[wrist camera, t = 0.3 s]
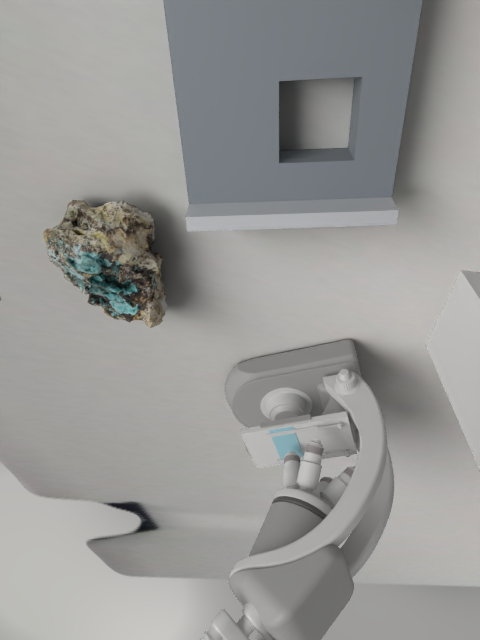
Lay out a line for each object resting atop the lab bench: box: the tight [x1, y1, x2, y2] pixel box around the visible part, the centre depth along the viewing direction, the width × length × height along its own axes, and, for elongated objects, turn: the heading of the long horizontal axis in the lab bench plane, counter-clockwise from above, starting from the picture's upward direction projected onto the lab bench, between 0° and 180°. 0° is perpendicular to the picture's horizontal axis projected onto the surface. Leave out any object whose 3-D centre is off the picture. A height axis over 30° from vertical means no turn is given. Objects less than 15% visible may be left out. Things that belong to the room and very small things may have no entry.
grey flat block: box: [163, 0, 423, 232], centre depth 30 cm, size 24×16×5 cm, turn 3°
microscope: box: [200, 339, 394, 640], centre depth 41 cm, size 11×19×30 cm, turn 107°
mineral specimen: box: [44, 200, 167, 328], centre depth 41 cm, size 12×9×8 cm
